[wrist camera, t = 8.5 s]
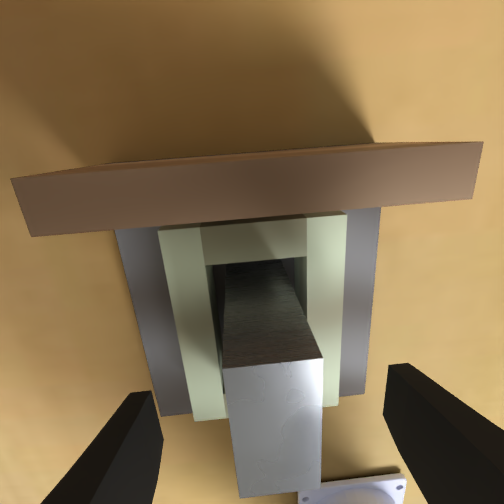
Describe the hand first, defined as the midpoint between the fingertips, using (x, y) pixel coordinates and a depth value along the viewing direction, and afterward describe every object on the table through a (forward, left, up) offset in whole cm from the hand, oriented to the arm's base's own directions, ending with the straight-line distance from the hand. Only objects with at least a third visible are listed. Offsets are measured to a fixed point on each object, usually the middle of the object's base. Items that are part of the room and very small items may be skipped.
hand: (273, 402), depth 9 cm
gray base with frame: (0, 0, -7) cm, 7 cm away
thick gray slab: (0, 0, -6) cm, 6 cm away
